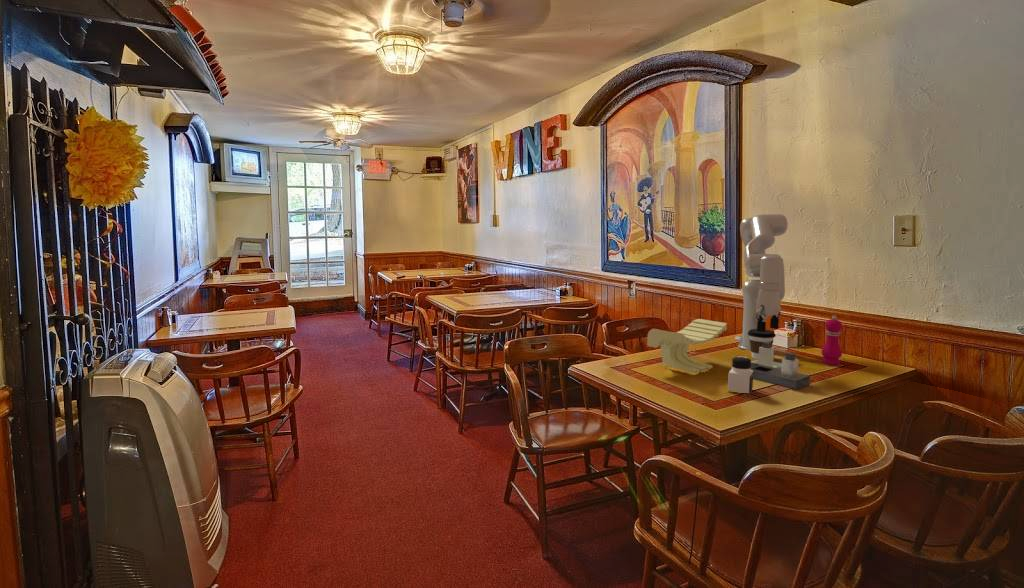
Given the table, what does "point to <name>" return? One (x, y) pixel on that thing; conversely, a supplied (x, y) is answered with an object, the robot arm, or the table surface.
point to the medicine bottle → (740, 375)
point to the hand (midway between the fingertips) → (767, 329)
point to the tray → (775, 364)
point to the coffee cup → (759, 340)
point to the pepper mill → (832, 342)
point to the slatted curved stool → (685, 343)
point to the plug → (766, 354)
